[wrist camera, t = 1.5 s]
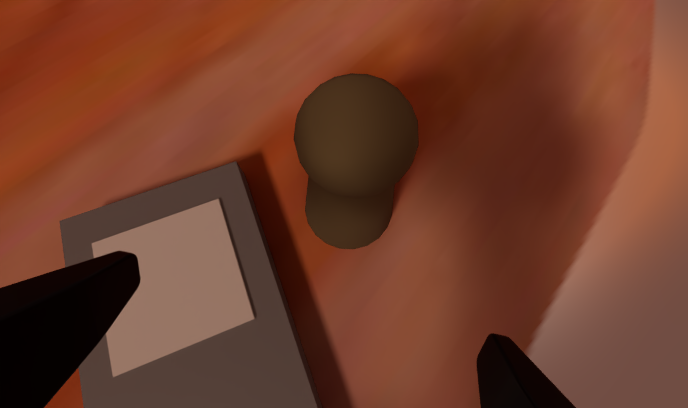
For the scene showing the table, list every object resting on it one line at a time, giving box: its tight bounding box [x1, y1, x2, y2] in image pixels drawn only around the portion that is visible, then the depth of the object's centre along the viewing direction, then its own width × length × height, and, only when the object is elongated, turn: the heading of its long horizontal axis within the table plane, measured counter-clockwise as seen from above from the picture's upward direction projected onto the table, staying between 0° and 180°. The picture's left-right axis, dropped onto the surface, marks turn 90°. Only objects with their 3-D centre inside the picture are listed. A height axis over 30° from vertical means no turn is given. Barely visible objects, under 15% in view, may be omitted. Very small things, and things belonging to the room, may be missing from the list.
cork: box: [294, 74, 418, 249], centre depth 17 cm, size 6×6×11 cm
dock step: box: [60, 161, 322, 408], centre depth 19 cm, size 18×11×2 cm, turn 22°
